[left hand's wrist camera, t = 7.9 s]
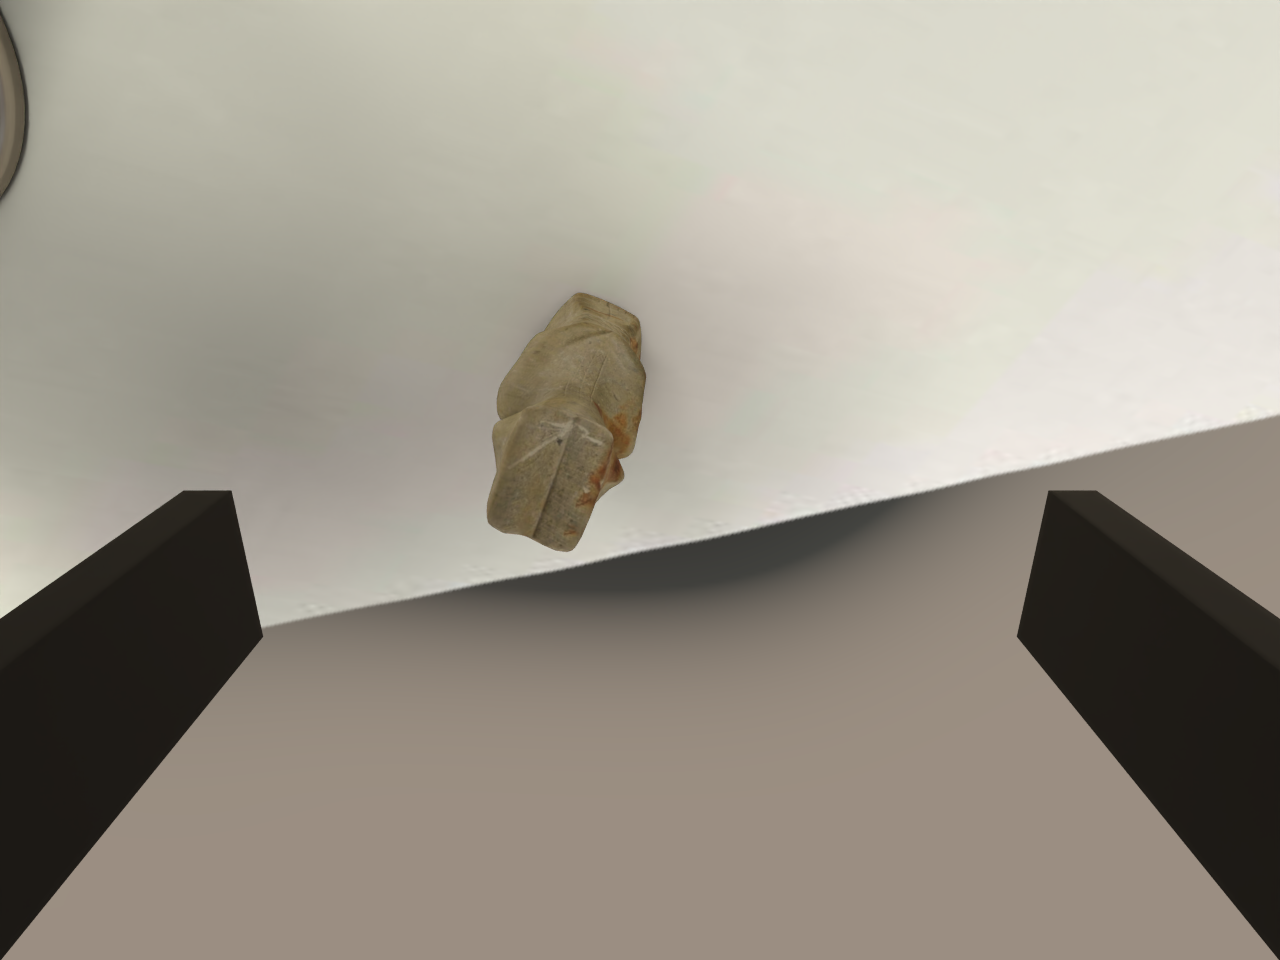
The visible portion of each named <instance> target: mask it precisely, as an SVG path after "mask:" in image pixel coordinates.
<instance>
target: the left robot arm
mask: <svg viewBox="0 0 1280 960" xmlns="http://www.w3.org/2000/svg"><path fill="white" fill-rule="evenodd" d="M24 126H25V105H24V94H23V86H22V80H21V75H20V70H19V66H18V62H17V59H16V55H15V51H14V48H13V45H12V43H11V40H10V37H9V34H8V31H7V29H6V27H5V25H4V22H3V20H2V18H1V16H0V197H1V195H2V194H3V192H4V191H5V189H6V188H7V186H8V184H9V182H10V180H11V178H12V176H13V174H14V172H15V169H16V166H17V163H18V160H19V157H20V153H21V148H22V143H23V136H24ZM262 637H263V634H262V629H261V625H260V620H259V615H258V611H257V606H256V602H255V597H254V592H253V588H252V583H251V579H250V574H249V569H248V565H247V560H246V556H245V551H244V546H243V542H242V537H241V532H240V528H239V523H238V519H237V514H236V509H235V505H234V500H233V496H232V491H182V492H181V493H180V494H178V495H177V496H175V497H174V498H172V499H171V500H170V501H168V502H167V503H165V504H164V505H162V506H161V507H160V508H158V509H157V510H155V511H154V512H152V513H151V514H150V515H148V516H147V517H145V518H144V519H142V520H141V521H140V522H138V523H137V524H135V525H134V526H132V527H131V528H129V529H128V530H127V531H125V532H124V533H122V534H121V535H119V536H118V537H117V538H115V539H114V540H112V541H111V542H109V543H108V544H107V545H105V546H104V547H102V548H101V549H99V550H98V551H97V552H95V553H94V554H92V555H91V556H89V557H88V558H87V559H85V560H84V561H82V562H81V563H79V564H78V565H77V566H75V567H74V568H72V569H71V570H69V571H68V572H67V573H65V574H64V575H62V576H61V577H59V578H58V579H56V580H55V581H54V582H52V583H51V584H49V585H48V586H46V587H45V588H44V589H42V590H41V591H39V592H38V593H36V594H35V595H34V596H32V597H31V598H29V599H28V600H26V601H25V602H24V603H22V604H21V605H19V606H18V607H16V608H15V609H14V610H12V611H11V612H9V613H8V614H6V615H5V616H4V617H2V618H1V619H0V960H1V959H2V958H3V957H4V955H5V954H6V953H7V952H8V951H9V949H10V948H11V947H12V946H13V944H14V943H15V942H16V941H17V939H18V938H19V937H20V936H21V935H22V933H23V932H24V931H25V930H26V928H27V927H28V926H29V925H30V923H31V922H32V921H33V920H34V919H35V917H36V916H37V915H38V914H39V912H40V911H41V910H42V909H43V907H44V906H45V905H46V904H47V902H48V901H49V900H50V899H51V897H52V896H53V895H54V894H55V893H56V891H57V890H58V889H59V888H60V886H61V885H62V884H63V883H64V882H65V880H66V879H67V878H68V877H69V875H70V874H71V873H72V872H73V870H74V869H75V868H76V867H77V865H78V864H79V863H80V862H81V861H82V859H83V858H84V857H85V856H86V854H87V853H88V852H89V851H90V849H91V848H92V847H93V846H94V845H95V843H96V842H97V841H98V840H99V838H100V837H101V836H102V835H103V833H104V832H105V831H106V830H107V828H108V827H109V826H110V825H111V823H112V822H113V821H114V820H115V819H116V817H117V816H118V815H119V814H120V812H121V811H122V810H123V809H124V808H125V806H126V805H127V804H128V803H129V801H130V800H131V799H132V798H133V796H134V795H135V794H136V793H137V792H138V790H139V789H140V788H141V787H142V785H143V784H144V783H145V782H146V780H147V779H148V778H149V777H150V775H151V774H152V773H153V772H154V770H155V769H156V768H157V767H158V766H159V764H160V763H161V762H162V761H163V759H164V758H165V757H166V756H167V754H168V753H169V752H170V751H171V750H172V748H173V747H174V746H175V745H176V743H177V742H178V741H179V740H180V738H181V737H182V736H183V735H184V733H185V732H186V731H187V730H188V729H189V727H190V726H191V725H192V724H193V722H194V721H195V720H196V719H197V718H198V716H199V715H200V714H201V713H202V711H203V710H204V709H205V708H206V706H207V705H208V704H209V703H210V701H211V700H212V699H213V698H214V697H215V695H216V694H217V693H218V692H219V690H220V689H221V688H222V687H223V685H224V684H225V683H226V682H227V681H228V679H229V678H230V677H231V676H232V674H233V673H234V672H235V671H236V669H237V668H238V667H239V666H240V664H241V663H242V662H243V661H244V660H245V658H246V657H247V656H248V655H249V653H250V652H251V651H252V650H253V648H254V647H255V646H256V645H257V644H258V642H259V641H260V640H261V639H262ZM1017 637H1018V639H1019V640H1020V641H1021V642H1022V644H1023V645H1024V646H1025V647H1026V648H1027V650H1028V651H1029V652H1030V653H1031V655H1032V656H1033V657H1034V658H1035V660H1036V661H1037V662H1038V663H1039V664H1040V666H1041V667H1042V668H1043V669H1044V671H1045V672H1046V673H1047V674H1048V676H1049V677H1050V678H1051V679H1052V680H1053V682H1054V683H1055V684H1056V685H1057V687H1058V688H1059V689H1060V690H1061V692H1062V693H1063V694H1064V695H1065V696H1066V698H1067V699H1068V700H1069V701H1070V703H1071V704H1072V705H1073V706H1074V708H1075V709H1076V710H1077V711H1078V713H1079V714H1080V715H1081V716H1082V718H1083V719H1084V720H1085V721H1086V722H1087V724H1088V725H1089V726H1090V727H1091V729H1092V730H1093V731H1094V732H1095V733H1096V735H1097V736H1098V737H1099V738H1100V740H1101V741H1102V742H1103V743H1104V745H1105V746H1106V747H1107V748H1108V750H1109V751H1110V752H1111V753H1112V754H1113V756H1114V757H1115V758H1116V759H1117V761H1118V762H1119V763H1120V764H1121V766H1122V767H1123V768H1124V769H1125V770H1126V772H1127V773H1128V774H1129V775H1130V777H1131V778H1132V779H1133V780H1134V782H1135V783H1136V784H1137V785H1138V787H1139V788H1140V789H1141V790H1142V792H1143V793H1144V794H1145V795H1146V796H1147V798H1148V799H1149V800H1150V801H1151V803H1152V804H1153V805H1154V806H1155V807H1156V809H1157V810H1158V811H1159V812H1160V814H1161V815H1162V816H1163V817H1164V819H1165V820H1166V821H1167V822H1168V824H1169V825H1170V826H1171V827H1172V828H1173V830H1174V831H1175V832H1176V833H1177V835H1178V836H1179V837H1180V838H1181V840H1182V841H1183V842H1184V843H1185V845H1186V846H1187V847H1188V848H1189V849H1190V851H1191V852H1192V853H1193V854H1194V856H1195V857H1196V858H1197V859H1198V861H1199V862H1200V863H1201V864H1202V865H1203V867H1204V868H1205V869H1206V870H1207V872H1208V873H1209V874H1210V875H1211V877H1212V878H1213V879H1214V880H1215V882H1216V883H1217V884H1218V885H1219V886H1220V888H1221V889H1222V890H1223V891H1224V893H1225V894H1226V895H1227V896H1228V898H1229V899H1230V900H1231V901H1232V902H1233V904H1234V905H1235V906H1236V907H1237V909H1238V910H1239V911H1240V912H1241V914H1242V915H1243V916H1244V917H1245V919H1246V920H1247V921H1248V922H1249V923H1250V925H1251V926H1252V927H1253V928H1254V930H1255V931H1256V932H1257V933H1258V935H1259V936H1260V937H1261V938H1262V939H1263V941H1264V942H1265V943H1266V944H1267V946H1268V947H1269V948H1270V949H1271V951H1272V952H1273V953H1274V954H1275V956H1276V957H1277V958H1278V959H1279V960H1280V619H1279V618H1278V617H1276V616H1275V615H1274V614H1272V613H1271V612H1269V611H1268V610H1266V609H1265V608H1264V607H1262V606H1261V605H1259V604H1258V603H1256V602H1255V601H1254V600H1252V599H1251V598H1249V597H1248V596H1246V595H1245V594H1244V593H1242V592H1241V591H1239V590H1238V589H1236V588H1235V587H1233V586H1232V585H1231V584H1229V583H1228V582H1226V581H1225V580H1224V579H1222V578H1221V577H1219V576H1218V575H1216V574H1215V573H1213V572H1212V571H1211V570H1209V569H1208V568H1206V567H1205V566H1203V565H1202V564H1201V563H1199V562H1198V561H1196V560H1195V559H1193V558H1192V557H1191V556H1189V555H1188V554H1186V553H1185V552H1183V551H1182V550H1181V549H1179V548H1178V547H1176V546H1175V545H1173V544H1172V543H1171V542H1169V541H1168V540H1166V539H1165V538H1163V537H1162V536H1161V535H1159V534H1158V533H1156V532H1155V531H1153V530H1152V529H1151V528H1149V527H1148V526H1146V525H1145V524H1143V523H1142V522H1140V521H1139V520H1138V519H1136V518H1135V517H1133V516H1132V515H1130V514H1129V513H1128V512H1126V511H1125V510H1123V509H1122V508H1120V507H1119V506H1118V505H1116V504H1115V503H1113V502H1112V501H1110V500H1109V499H1108V498H1106V497H1105V496H1103V495H1102V494H1100V493H1099V492H1098V491H1048V496H1047V500H1046V505H1045V509H1044V514H1043V519H1042V523H1041V528H1040V532H1039V537H1038V542H1037V546H1036V551H1035V556H1034V560H1033V565H1032V569H1031V574H1030V579H1029V583H1028V588H1027V593H1026V597H1025V602H1024V606H1023V611H1022V615H1021V620H1020V625H1019V629H1018V634H1017Z"/></svg>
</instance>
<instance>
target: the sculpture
mask: <svg viewBox="0 0 1280 960" xmlns="http://www.w3.org/2000/svg"><path fill="white" fill-rule="evenodd" d="M640 354H641V328H640V322H639V320H638V318H637V317H636V316H634V315H632V314H631V313H629V312H627V311H625V310H623V309H621V308H619V307H617V306H615V305H613V304H611V303H609V302H607V301H604V300H602V299H599V298H597V297H594V296H591V295H588V294H584V293H577V294H575V295H574V296H572V297H571V298H570V299H569V300H568V301H567V302H566V303H565V304H564V305H563V306H562V307H561V308H560V309H559V311H558V312H557V313H556V314H555V316H554V317H553V318H552V320H551V321H550V323H549V324H548V326H547V327H546V329H545V331H543V332H541V333H538V334H537V335H535V337H534V338H533V339H532V340H531V341H530V342H529V343H528V345H527V346H526V348H525V350H524V351H523V353H522V354H521V356H520V358H519V359H518V361H517V362H516V363H515V365H514V366H513V367H512V369H511V370H510V371H509V373H508V374H507V375H506V377H505V378H504V380H503V382H502V383H501V385H500V388H499V391H498V396H497V412H498V415H499V417H500V419H501V420H500V421H498V422H497V423H496V424H495V425H494V428H493V434H492V440H493V446H494V453H495V459H496V468H497V472H496V475H495V478H494V481H493V485H492V488H491V491H490V494H489V498H488V502H487V519H488V523H489V524H490V525H491V526H492V527H494V528H496V529H497V530H499V531H501V532H503V533H508V534H518V535H523V536H527V537H529V538H531V539H533V540H535V541H536V542H538V543H540V544H542V545H544V546H547V547H549V548H551V549H554V550H557V551H564V552H568V551H571V550H573V549H574V548H575V546H576V545H577V543H578V542H579V540H580V538H581V537H582V535H583V532H584V530H585V527H586V525H587V523H588V521H589V518H590V516H591V513H592V511H593V508H594V505H595V503H596V502H597V501H598V500H599V498H600V497H601V496H602V495H604V494H605V493H606V492H607V491H608V490H609V489H610V488H612V487H614V486H616V485H617V484H619V483H620V482H621V481H622V480H623V479H624V471H623V469H622V466H621V464H620V462H619V459H621V458H625V457H627V456H629V455H630V454H631V453H632V452H633V449H634V446H635V441H636V436H637V432H638V427H639V423H640V420H641V414H642V402H643V394H644V387H645V381H646V373H645V370H644V368H643V366H642V364H641V362H640Z"/></svg>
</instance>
